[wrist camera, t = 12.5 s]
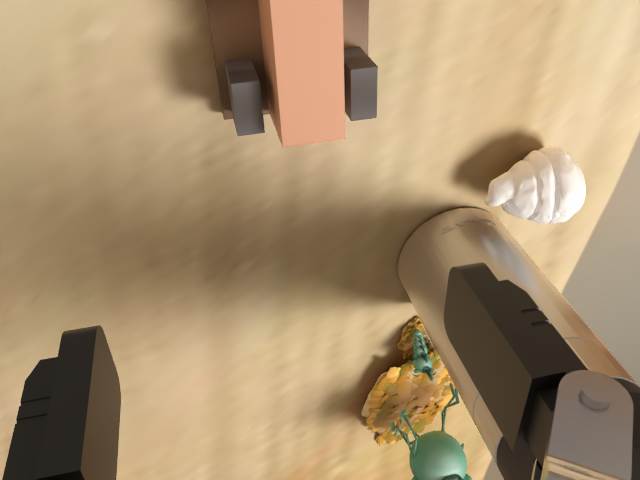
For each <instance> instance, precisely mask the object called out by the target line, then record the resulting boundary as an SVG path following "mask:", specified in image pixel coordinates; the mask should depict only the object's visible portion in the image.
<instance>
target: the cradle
mask: <svg viewBox="0 0 640 480" xmlns="http://www.w3.org/2000/svg"><path fill="white" fill-rule="evenodd" d="M207 7H208V14H209V21H210V28H211V35H212V42H213V49H214V56H215V63H216V70H217V77H218V84H219V91H220V98H221V104H222V111H223V116H224V120H225V119H234V123H235V127H236V131H237V135H238V136H243V135H250V134H258V133H265V131H264V121H263V115H265V114H270V112H269V107H268V97H267V87H266V77H265V66H264V56H263V46H262V36H261V26H260V16H259V6H258V0H207ZM368 12H369V0H343V40H344V95H345V112H346V114H347V115H348V117H349V118H350V120H351V121H356V120H364V119H371V118H376V115H377V69H378V67H377V66H376V64H375V63H374V62H373V61H372V60H371V59H370V58H369V56H368Z"/></svg>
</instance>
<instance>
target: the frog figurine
mask: <svg viewBox="0 0 640 480" xmlns="http://www.w3.org/2000/svg"><path fill="white" fill-rule="evenodd" d="M423 326H424V325H423V323H422V321H421V320H420V318H419V317H416V318H415V319H414V320H412V321H411V322H409V323H408V324H407V325H406V326H405V327H404V328H403V329H402V337H401V340H400V342H399V343H398V344H397V347H399V349H400V350H402V351H403V353H402V354H403V359H406V358H407V357H408V358H407V359H409V358H410V357H411V356H412V355H414V357H415V358H414V357H413V356H412V358H413V359H414V361H410V360H409V361H408V362H406V363H405V364H403V365H401V366H400V367H397V368H396V367H391V368H390V369H389V371H388V372H385V373H383V374H381V375H380V377H379V378H378V380H377V382H376V384H375V385H374V387H373V389H372V390H371V391H370V393H369V395H368V398H367V400H366V402H365V404H364V407H363V409H362V413H361V415H362V416H364V417H367V419H366V421H365V422H366V423H367V425H366V426H367V427H368V428H367V429H368V430H370V431H371V430H372V431H373V432H376V431H378V433H380V434H379V436H378V437H377V438H376V441H378V444H379V446H380V445H381V444H386V443H388V444H390V445H391V444H393V443H395V440H396V442H397V441H399V440H401V439H402V438H404V440H405V441H406V443H407V444H408V446H409V449H410V467H411V470H412V473H413V475H414V477H413V478H412V480H472V479H471V477H470V476H469V475H468V474H466V470H467V460H466V456H465V453H464V451H463V447H464V443H462V445H460V444H459V442H458V441H457V440H456V439H455V438H453V437H452V436H450V435H449V434H447V433H445V432H444V424H445V418H446V411H447V410H449V409H450V407H451V406H453V405H455V404H458V403H459V398H458V392H457V389H456V388H455V385H454V383H453V381H452V379H451V377H450V375H449V373H448V371H447V369H446V367H445V365H444V364H443V362H442V360H441V358H440V356H439V354H438V352H437V350H436V348H435V347H434V348H433V350H429V351H427V350H428V349H429V348H428V349H427V347H426V346H425V345H428V343H426V340H427V338H425V336H426V335H424V328H423ZM428 342H429V343H430V340H428ZM430 348H431V345H430ZM453 388H455V393H454V389H453ZM455 397H456V402H454V403H452V402H453V399H454V398H455ZM440 413H441V414H442V430H441V431H432V432H428V433H426V434H423V435H421V436H419V435H418V434H416V433H420V432H422V431H423V430H424V427H425V426H426V425H428V424H430V423H431V422H432V421H433V419H434V418H436V417H437V416H439V415H440ZM443 413H444V414H443ZM410 432H412V433H413V435H414V437H415V440H414V441H412V442H409V439H408V435H407V434H408V433H410ZM405 436H406V438H405ZM416 436H417V437H418V438H417V437H416ZM410 445H412V446H410Z"/></svg>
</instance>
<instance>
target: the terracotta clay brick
mask: <svg viewBox="0 0 640 480" xmlns="http://www.w3.org/2000/svg"><path fill="white" fill-rule="evenodd" d="M258 6H259V16H260V26H261V36H262V46H263V56H264V66H265V77H266V87H267V97H268V107H269V112H270V115H271V118H272V120H273V123H274V126H275V128H276V131H277V133H278V136H279V139H280V141H281V144H282V147H283V148H284V147H291V146H298V145H305V144H312V143H319V142H326V141H333V140H340V139H345V95H344V40H343V0H258Z"/></svg>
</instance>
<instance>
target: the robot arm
mask: <svg viewBox="0 0 640 480" xmlns="http://www.w3.org/2000/svg"><path fill="white" fill-rule="evenodd" d="M398 274H399V278H400V281H401V283H402V284H403V286H404V288H405V290H406V292H407V294H408V296H409V298H410V300H411V302H412V304H413V306H414V308H415V310H416V311H417V314H418V316H419V318H420V320H421V321H422V323H423V325H424V327H425V329H426V331H427V333H428V335H429V337H430V339H431V341H432V343H433V344H434V346H435V348H436V350H437V352H438V354H439V356H440V358H441V360H442V362H443V364H444V365H445V367H446V369H447V371H448V373H449V375H450V377H451V379H452V381H453V383H454V385H455V387H456V388H457V390H458V392H459V394H460V396H461V398H462V400H463V402H464V404H465V406H466V408H467V409H468V411H469V413H470V415H471V417H472V419H473V421H474V423H475V425H476V426H477V428H478V430H479V432H480V434H481V436H482V438H483V440H484V442H485V443H486V445H487V447H488V449H489V451H490V453H491V455H492V457H493V459H494V460H495V463H496V464H497V466H498V468H499V470H500V472H501V474H502V476H503V478H504V480H640V387H639V386H638V384H637V383H636V382H635V381H634V380H633V378H632V377H631V376H630V375H629V374H628V373H627V371H626V370H625V369H624V368H623V367H622V365H621V364H620V363H619V362H618V361H617V360H616V358H615V357H614V356H613V355H612V354H611V352H610V351H609V350H608V349H607V348H606V347H605V346H604V344H603V343H602V342H601V341H600V340H599V338H598V337H597V336H596V335H595V334H594V333H593V331H592V330H591V329H590V328H589V327H588V325H587V324H586V323H585V322H584V321H583V319H582V318H581V317H580V316H579V315H578V314H577V312H576V311H575V310H574V309H573V308H572V306H571V305H570V304H569V303H568V302H567V300H566V299H565V298H564V297H563V296H562V295H561V293H560V292H559V291H558V290H557V289H556V287H555V286H554V285H553V284H552V283H551V281H550V280H549V279H548V278H547V277H546V276H545V274H544V273H543V272H542V271H541V270H540V268H539V267H538V266H537V265H536V264H535V262H534V261H533V260H532V259H531V258H530V257H529V255H528V254H527V253H526V252H525V250H524V249H523V248H522V247H521V246H520V245H519V243H518V242H517V241H516V240H515V239H514V237H513V236H512V235H511V234H510V233H509V231H508V230H507V229H506V228H505V227H504V226H503V224H502V223H501V222H500V221H499V220H498V218H496V217H495V216H494V215H492V214H491V213H489V212H487V211H484V210H482V209H476V208H458V209H454V210H450V211H446V212H444V213H441V214H439V215H437V216H435V217H433V218H431V219H430V220H428V221H427V222H425V223H424V224H422V225H421V226H420V227H419V228H418V229H417V230H416V231H415V232H414V233H413V234H412V235H411V236H410V238H409V239H408V240H407V241H406V243H405V245H404V247H403V249H402V251H401V254H400V257H399V261H398ZM120 406H121V392H120V383H119V378H118V374H117V370H116V367H115V364H114V361H113V358H112V355H111V352H110V349H109V346H108V343H107V340H106V337H105V334H104V331H103V329H102V327H101V326H93V327H87V328H81V329H75V330H69V331H64V332H63V334H62V337H61V342H60V348H59V353H58V357H55V358H49V359H44V360H40V361H39V363H38V364H37V365H36V367H35V368H34V370H33V371H32V372H31V374H30V375H29V376H28V378H27V379H26V381H25V385H24V389H23V393H22V398H21V406H19V411H18V415H17V419H16V420H17V424H15V428H14V432H13V436H12V441H11V445H10V449H9V454H8V458H7V462H6V466H5V471H4V475H3V479H2V480H116V473H117V456H118V440H119V423H120Z"/></svg>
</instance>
